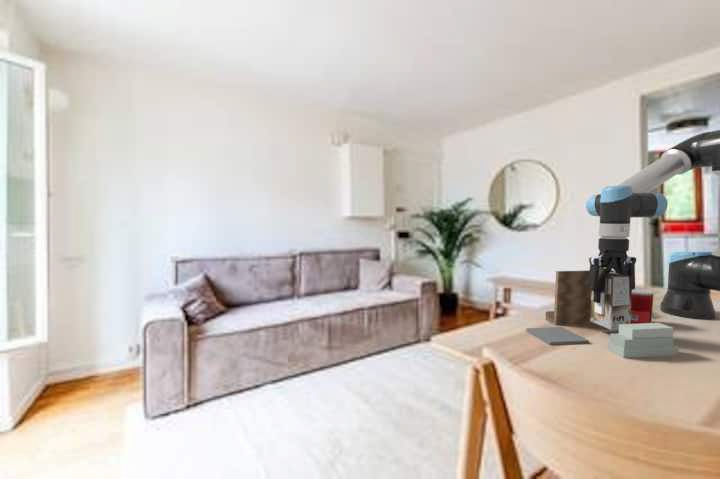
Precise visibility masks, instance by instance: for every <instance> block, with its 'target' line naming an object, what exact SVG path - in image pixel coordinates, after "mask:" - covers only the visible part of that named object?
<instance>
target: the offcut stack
mask: <svg viewBox="0 0 720 479" xmlns="http://www.w3.org/2000/svg"><path fill="white" fill-rule="evenodd" d="M674 329H675V328H674V327H672V326H669V325H666V324H663V323H661V322H651V323H642V324H619V330H618V333H610V335H609V336H610V338H609V341H608V345H607V351H608V352H610V353H612V354H614V355H615V356H616V355H617V356H618V357H620V358H623V359H629V358H630V359H631V358H649V357H668V356H670V357H671V356H672V357H673V356H679V350H680V349H679V348H680V347H679V346H678V345H675V344H673V343H674Z"/></svg>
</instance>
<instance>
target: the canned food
mask: <svg viewBox="0 0 720 479" xmlns="http://www.w3.org/2000/svg"><path fill="white" fill-rule="evenodd" d="M653 303H654V291H651V290H647V289H641V288H635V289H634V290H632V298H631V319H630V324H642V323H652V320H653V305H654V304H653Z"/></svg>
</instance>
